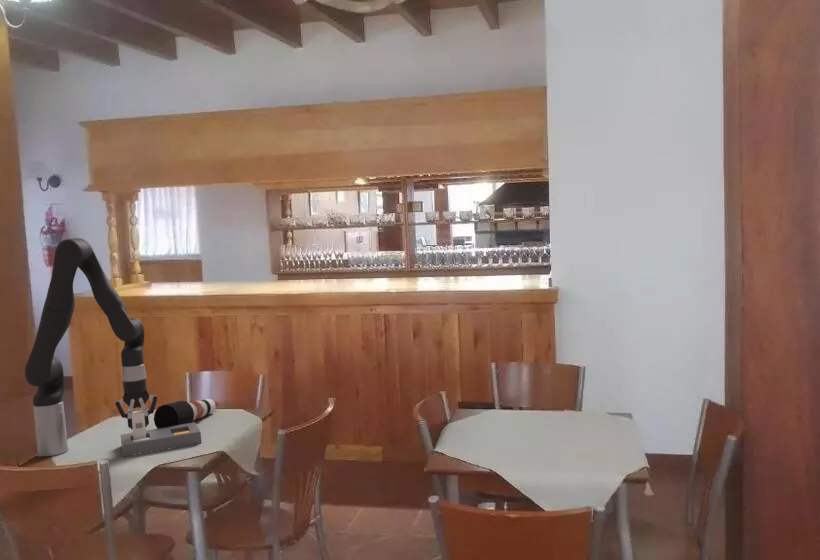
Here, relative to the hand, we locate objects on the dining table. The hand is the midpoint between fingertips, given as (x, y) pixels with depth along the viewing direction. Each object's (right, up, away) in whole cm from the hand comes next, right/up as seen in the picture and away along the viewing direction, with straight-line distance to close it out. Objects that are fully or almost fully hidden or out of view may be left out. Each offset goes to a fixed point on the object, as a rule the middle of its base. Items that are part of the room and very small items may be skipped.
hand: (138, 427), depth 250 cm
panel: (+7, -7, +3) cm, 10 cm away
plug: (0, -6, 0) cm, 6 cm away
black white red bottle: (+9, -4, +31) cm, 32 cm away
